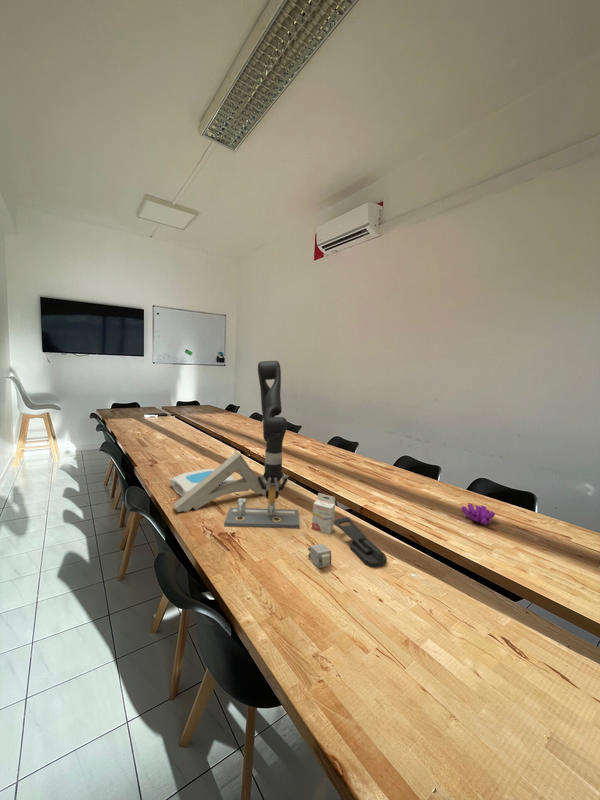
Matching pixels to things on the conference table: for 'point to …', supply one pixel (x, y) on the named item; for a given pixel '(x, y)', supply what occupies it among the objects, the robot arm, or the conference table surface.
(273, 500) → the sliding divider leg
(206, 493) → the wall bracket
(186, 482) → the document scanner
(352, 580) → the conference table surface
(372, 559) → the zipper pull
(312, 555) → the electrical component
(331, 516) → the ink cartridge box
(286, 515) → the gauge plate
